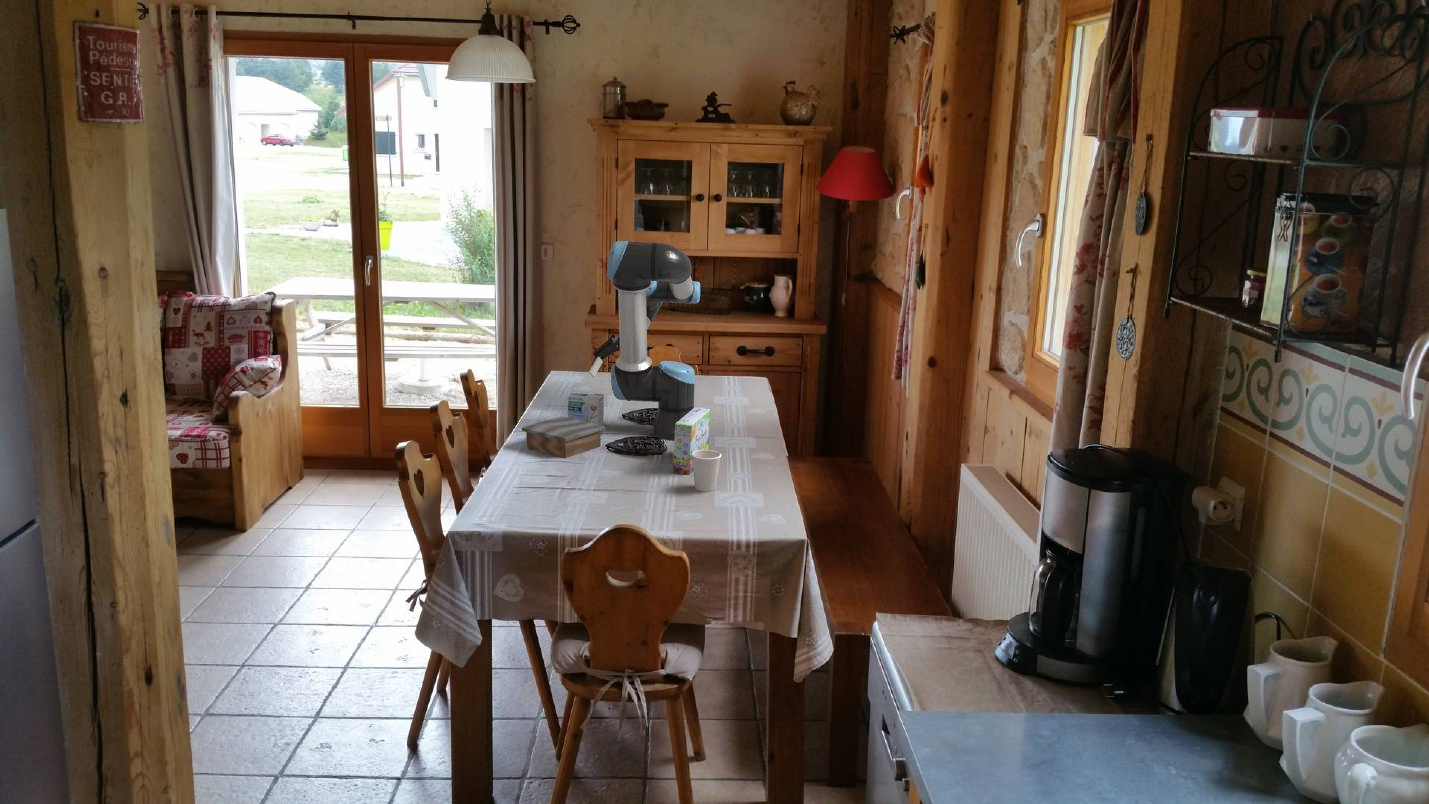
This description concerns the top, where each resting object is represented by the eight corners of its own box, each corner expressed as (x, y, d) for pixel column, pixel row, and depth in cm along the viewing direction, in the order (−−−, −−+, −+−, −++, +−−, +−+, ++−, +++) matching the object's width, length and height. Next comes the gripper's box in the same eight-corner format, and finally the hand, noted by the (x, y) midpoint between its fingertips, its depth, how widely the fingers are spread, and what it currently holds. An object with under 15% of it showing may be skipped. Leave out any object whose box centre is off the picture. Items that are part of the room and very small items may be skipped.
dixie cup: (709, 495, 294) (711, 460, 291) (684, 489, 298) (685, 454, 296) (725, 487, 301) (727, 453, 298) (700, 481, 305) (701, 447, 303)
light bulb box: (567, 427, 355) (567, 395, 352) (573, 422, 361) (573, 391, 359) (598, 430, 353) (599, 398, 351) (604, 424, 360) (604, 393, 357)
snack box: (690, 475, 310) (692, 425, 306) (671, 473, 311) (673, 423, 308) (709, 455, 330) (711, 407, 326) (691, 453, 331) (693, 406, 328)
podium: (605, 446, 335) (605, 426, 334) (565, 459, 321) (565, 438, 319) (561, 435, 345) (561, 416, 343) (521, 448, 330) (521, 427, 329)
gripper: (669, 339, 367) (640, 389, 358) (612, 329, 380) (583, 378, 372) (659, 325, 361) (631, 376, 353) (602, 316, 375) (573, 365, 366)
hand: (606, 377), depth 362 cm, fingers open, 13 cm apart
